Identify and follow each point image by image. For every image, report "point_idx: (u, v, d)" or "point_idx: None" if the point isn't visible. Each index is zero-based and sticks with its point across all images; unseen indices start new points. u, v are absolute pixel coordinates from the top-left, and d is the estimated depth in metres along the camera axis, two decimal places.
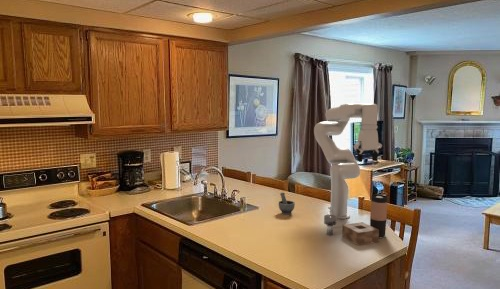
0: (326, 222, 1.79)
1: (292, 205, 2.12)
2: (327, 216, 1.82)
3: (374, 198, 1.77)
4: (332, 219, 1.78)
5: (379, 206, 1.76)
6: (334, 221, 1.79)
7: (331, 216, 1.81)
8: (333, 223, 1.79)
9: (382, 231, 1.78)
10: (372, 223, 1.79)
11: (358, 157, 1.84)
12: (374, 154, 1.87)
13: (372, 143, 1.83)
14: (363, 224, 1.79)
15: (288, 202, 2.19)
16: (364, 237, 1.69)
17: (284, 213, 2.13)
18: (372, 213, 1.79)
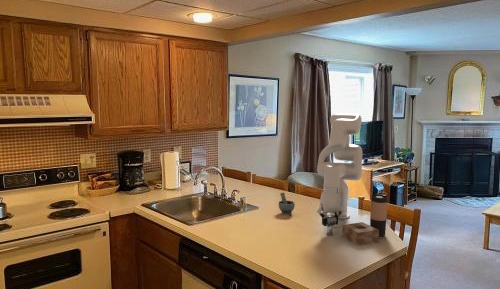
0: None
1: (292, 205, 2.12)
2: (327, 216, 1.82)
3: (374, 198, 1.77)
4: (332, 219, 1.78)
5: (379, 206, 1.76)
6: (334, 221, 1.79)
7: (331, 216, 1.81)
8: (333, 223, 1.79)
9: (382, 231, 1.78)
10: (372, 223, 1.79)
11: (322, 221, 1.80)
12: None
13: (334, 206, 1.79)
14: (363, 224, 1.79)
15: (288, 202, 2.19)
16: (364, 237, 1.69)
17: (284, 213, 2.13)
18: (372, 213, 1.79)
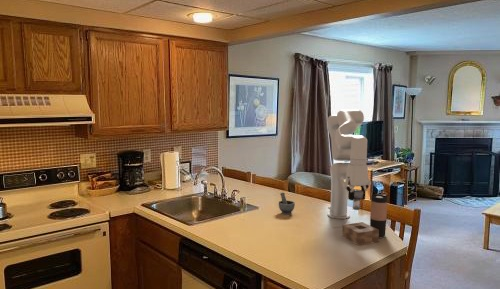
0: None
1: (292, 205, 2.12)
2: (353, 190, 1.75)
3: (374, 198, 1.77)
4: (359, 193, 1.71)
5: (379, 206, 1.76)
6: (361, 195, 1.72)
7: (358, 190, 1.74)
8: (360, 197, 1.71)
9: (382, 231, 1.78)
10: (372, 223, 1.79)
11: (349, 195, 1.73)
12: None
13: (361, 179, 1.71)
14: (363, 224, 1.79)
15: (288, 202, 2.19)
16: (364, 237, 1.69)
17: (284, 213, 2.13)
18: (372, 213, 1.79)
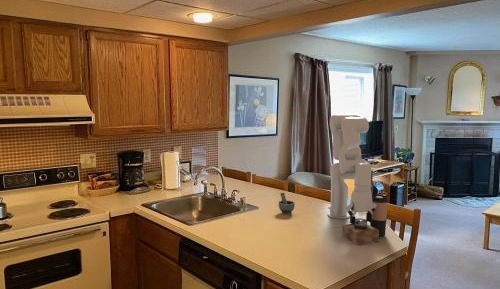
0: (357, 226, 1.73)
1: (292, 205, 2.12)
2: (357, 219, 1.75)
3: (374, 198, 1.77)
4: (364, 223, 1.72)
5: (379, 206, 1.76)
6: (365, 225, 1.72)
7: (362, 220, 1.75)
8: (364, 227, 1.72)
9: (382, 231, 1.78)
10: (372, 223, 1.79)
11: (351, 219, 1.72)
12: (368, 215, 1.76)
13: (366, 204, 1.72)
14: None
15: (288, 202, 2.19)
16: (364, 237, 1.69)
17: (284, 213, 2.13)
18: None
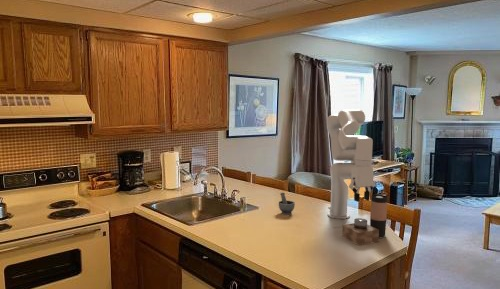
0: (357, 226, 1.73)
1: (292, 205, 2.12)
2: (357, 219, 1.75)
3: (374, 198, 1.77)
4: (364, 223, 1.72)
5: (379, 206, 1.76)
6: (365, 225, 1.72)
7: (362, 220, 1.75)
8: (364, 227, 1.72)
9: (382, 231, 1.78)
10: (372, 223, 1.79)
11: (355, 196, 1.72)
12: (366, 193, 1.74)
13: (367, 180, 1.70)
14: None
15: (288, 202, 2.19)
16: (364, 237, 1.69)
17: (284, 213, 2.13)
18: (372, 213, 1.79)
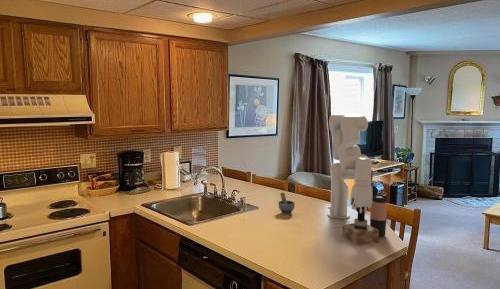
0: (357, 226, 1.73)
1: (292, 205, 2.12)
2: (357, 219, 1.75)
3: (374, 198, 1.77)
4: (364, 223, 1.72)
5: (379, 206, 1.76)
6: (365, 225, 1.72)
7: None
8: (364, 227, 1.72)
9: (382, 231, 1.78)
10: (372, 223, 1.79)
11: (358, 216, 1.74)
12: None
13: (366, 200, 1.71)
14: None
15: (288, 202, 2.19)
16: (364, 237, 1.69)
17: (284, 213, 2.13)
18: (372, 213, 1.79)
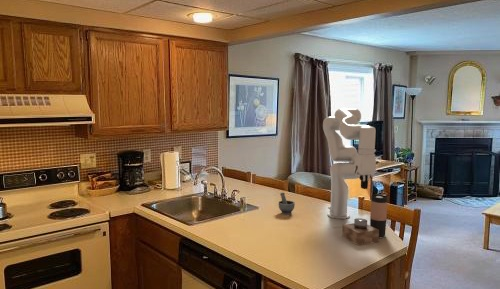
0: (357, 226, 1.73)
1: (292, 205, 2.12)
2: (357, 219, 1.75)
3: (374, 198, 1.77)
4: (364, 223, 1.72)
5: (379, 206, 1.76)
6: (365, 225, 1.72)
7: (362, 220, 1.75)
8: (364, 227, 1.72)
9: (382, 231, 1.78)
10: (372, 223, 1.79)
11: (361, 184, 1.78)
12: None
13: (369, 168, 1.75)
14: None
15: (288, 202, 2.19)
16: (364, 237, 1.69)
17: (284, 213, 2.13)
18: (372, 213, 1.79)
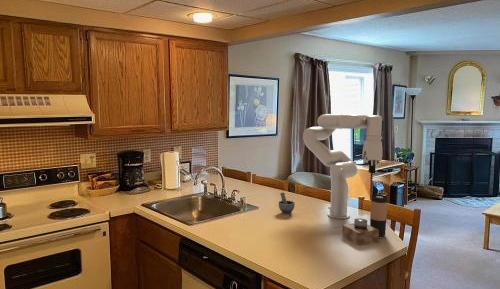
0: (357, 226, 1.73)
1: (292, 205, 2.12)
2: (357, 219, 1.75)
3: (374, 198, 1.77)
4: (364, 223, 1.72)
5: (379, 206, 1.76)
6: (365, 225, 1.72)
7: (362, 220, 1.75)
8: (364, 227, 1.72)
9: (382, 231, 1.78)
10: (372, 223, 1.79)
11: (369, 169, 1.92)
12: None
13: (377, 153, 1.90)
14: None
15: (288, 202, 2.19)
16: (364, 237, 1.69)
17: (284, 213, 2.13)
18: (372, 213, 1.79)
